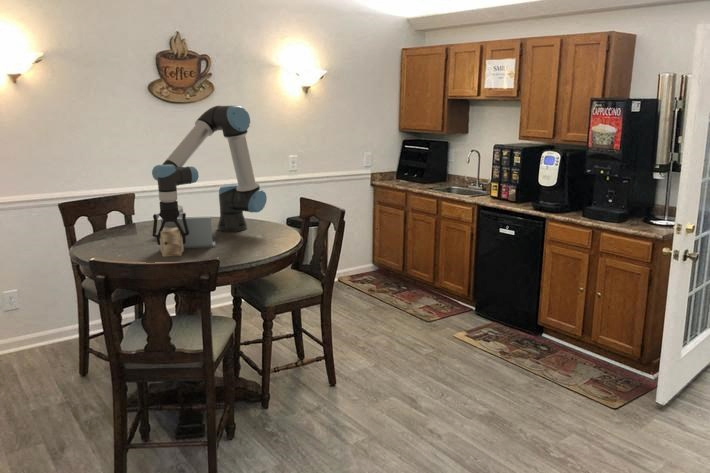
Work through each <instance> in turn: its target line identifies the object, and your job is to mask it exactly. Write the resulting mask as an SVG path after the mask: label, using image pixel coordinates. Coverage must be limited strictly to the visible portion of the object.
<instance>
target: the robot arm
mask: <svg viewBox="0 0 710 473" xmlns="http://www.w3.org/2000/svg"><path fill="white" fill-rule="evenodd" d="M250 124H251V117H250V114H249V112H248V111H247V109H245V108H244V107H243V106H238V105H215V106H212V107H210V108H209V109H207V110H206V111H204V112H203V114H201V115H200V116H199V117H198V119H196V120H195V122H194V126H193V127H192V128H191V130H190V131H189V132H188V134H186V136H185V137H184V138H183V139H182V141H181V142H180V143H178V145H177V147H176V148H175V149H174V150H173V151H172V153H171V154H170V155H169V156H168V157H167V158H166V159H165V160H164V162H163V163H162V164H157V165H155V166H153V168H152V171H151V175H152V178H153V179H154V180H155V181H157V189H158V199H159V213H153V215H152V218H153V228H152V237H153V238H156V239H157V246H160V254H162V244H161V231H162V230H163V228H164V225H165V223H166V222H174V223H175V224H176V226H177V228H178V230H180V233H181V235H182V236H181V250H182V253H183V252H184V251H185V249H184V246H183V244H185V243H186V238H185V236H187V235H189V229H188V225H187V222H186V218H187V216H186V215H187V213H186V212H184V213H180V212H179V211H178V203H179V202H178V190H177V187H178V186H183V185H191V184H193V183H196V182H198V180H199V171H198V169H197V168H196V167H194V166H184V165H186V163H187V162H188V161H189V160H190V159H191V157H192V156H193V155H194V154H195V152H196V151H197V150H198V149H199V147H200V146H202V144H203V143H204V141H205V140H206V139H207V138H208V137H211V136H213V134H214V133H215V132H218V131H222V135H223V137H224V138H225V139H227V142H228V145H229V150H230V155H231V160H232V164H233V167H234V168H233V169H234V173H235V177H236V180H237V184H230V185H229V184H228V185H223V186H220V187H219V190H218V200H219V201H218V202H219V214H220V215H219V219H218V222H217V230H218V231H220V232H225V233H226V232H227V233H228V232H229V233H231V232H232V233H233V232H241V231H244V230H247V228H248V224H247V221H246V219H245V215H244V212H247V213H252V214H253V213H260V212H261V211H263V210H264V208H265V206H266V205H267V197H268V196H267V193H266V192H265V191H264V190H262V189H261V187H260V184H259V182H257V181H256V179H255V174H254V169H253V166H252V161H251V156H250V151H249V148H248V142H247V138H246V135H247V134H248V133H249V130H248V129H249V128H250ZM179 215H180V216H181V218H182V220H183V224H184V228H185V232H186V233H184V231H183V229H182V227H181V225H180V224H179V222H178V220H177V218H178V216H179ZM159 217H160V218H161V219H163V222H162V224H161V223H160V226H159V229H157V228H158V219H159ZM157 230H158V233H157Z"/></svg>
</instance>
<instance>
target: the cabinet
mask: <svg viewBox="0 0 710 473" xmlns="http://www.w3.org/2000/svg"><path fill="white" fill-rule="evenodd" d="M181 227H182V226H181ZM160 237H161V244H162V253H161V254H162V257H176V256H179V257H180V256H182V255H183V252H182V250H181V233H180V230H178V228H177V226H175V227H164V228H163V230H162V231H161V236H160Z"/></svg>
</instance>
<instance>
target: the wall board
mask: <svg viewBox="0 0 710 473" xmlns="http://www.w3.org/2000/svg"><path fill="white" fill-rule="evenodd" d="M177 220H178V222H179V224H180V225H181V226H182V229H183V231H184V233H186V232H185V228H184V224H183V220H182V218H177ZM162 222H163V219H162V218H161V219H160V225H161V224H162ZM186 222H187V225H188V229H189V235H187V236H185V238H186V243H185V244H183V246H184V250H185V249H198V248H199V249H202V248H203V249H204V248H214V247H216V241H213V229H212V228H213V227H212V216H198V217H197V216H196V217H186ZM175 226H176V224H175V223H174V222H166V223H165V225H164V227H175ZM181 236H182V235H181Z"/></svg>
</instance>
